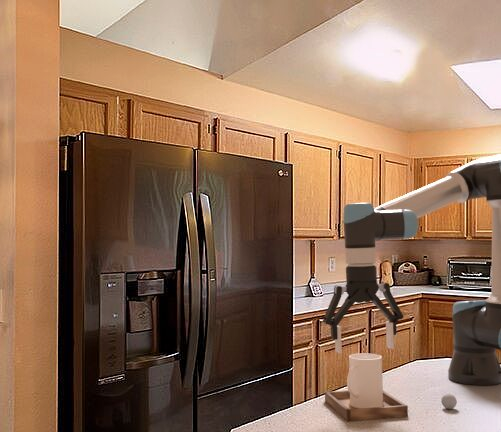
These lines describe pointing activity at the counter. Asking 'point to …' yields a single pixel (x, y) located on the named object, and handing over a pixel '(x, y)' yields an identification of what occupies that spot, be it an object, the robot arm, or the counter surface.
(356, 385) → the mug
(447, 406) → the ball
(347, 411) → the tray
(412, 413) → the counter surface
